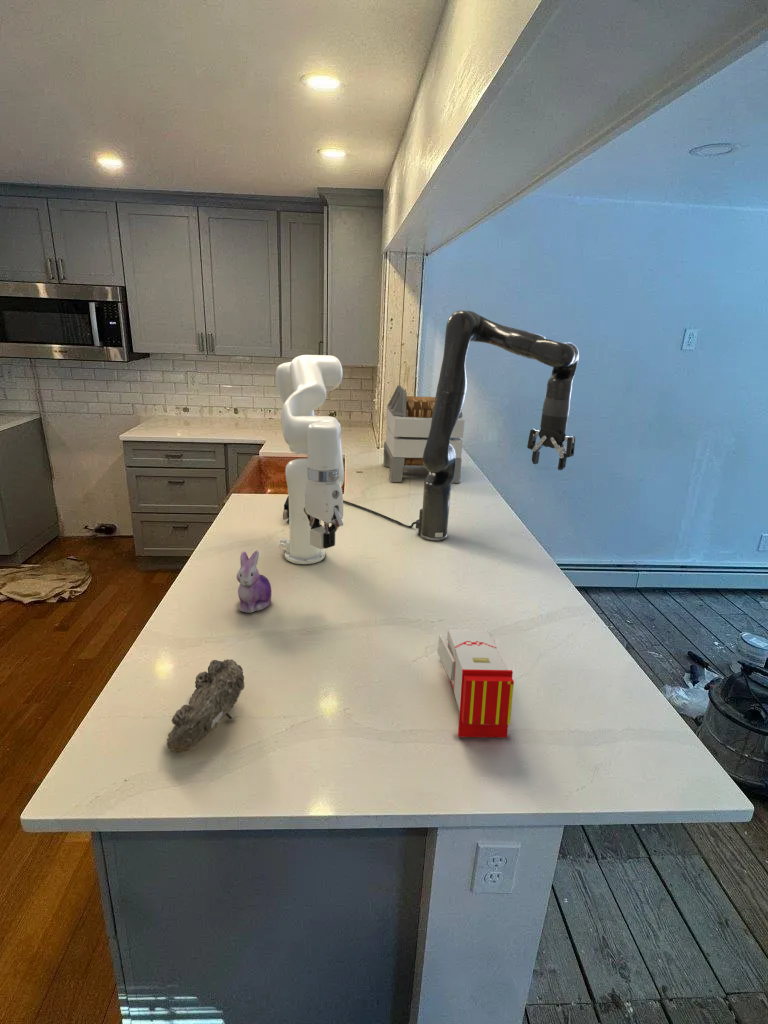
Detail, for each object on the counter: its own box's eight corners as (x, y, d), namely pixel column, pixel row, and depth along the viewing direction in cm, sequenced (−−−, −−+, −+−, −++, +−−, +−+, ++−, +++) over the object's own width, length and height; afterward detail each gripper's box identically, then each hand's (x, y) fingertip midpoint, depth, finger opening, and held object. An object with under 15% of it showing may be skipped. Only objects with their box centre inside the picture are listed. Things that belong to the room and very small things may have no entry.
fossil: (192, 660, 117) (244, 628, 112) (224, 691, 120) (276, 661, 115) (142, 746, 98) (202, 712, 93) (182, 779, 101) (242, 748, 96)
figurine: (241, 617, 142) (239, 563, 137) (232, 599, 151) (229, 547, 146) (278, 610, 146) (277, 557, 141) (266, 592, 155) (265, 542, 150)
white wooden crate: (382, 463, 289) (386, 382, 275) (445, 464, 293) (451, 384, 279) (390, 482, 257) (394, 392, 243) (460, 483, 261) (468, 394, 247)
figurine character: (300, 529, 203) (305, 510, 217) (300, 510, 200) (305, 492, 213) (282, 528, 203) (287, 510, 216) (281, 509, 200) (287, 492, 213)
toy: (488, 613, 130) (523, 677, 101) (484, 667, 133) (517, 744, 104) (435, 612, 130) (455, 676, 101) (432, 666, 133) (451, 743, 103)
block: (335, 544, 143) (335, 529, 142) (320, 549, 140) (320, 534, 139) (324, 539, 146) (324, 525, 145) (309, 544, 143) (309, 529, 142)
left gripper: (358, 479, 134) (356, 550, 140) (313, 464, 145) (313, 530, 151) (333, 485, 129) (332, 558, 135) (289, 469, 140) (290, 537, 146)
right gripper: (584, 415, 164) (575, 469, 170) (540, 408, 174) (533, 459, 179) (571, 418, 159) (562, 474, 165) (527, 410, 169) (520, 463, 174)
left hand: (322, 543), depth 143 cm, fingers closed on block, 4 cm apart
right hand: (547, 466), depth 172 cm, fingers open, 8 cm apart
